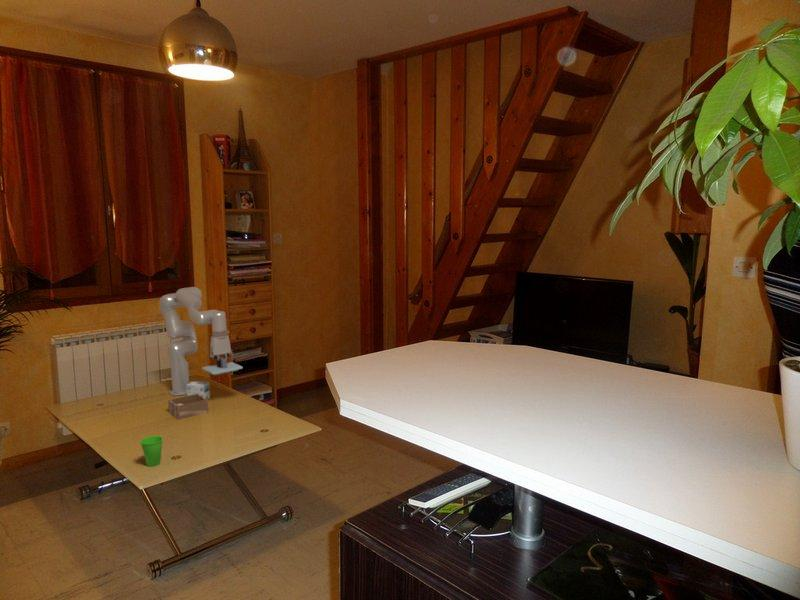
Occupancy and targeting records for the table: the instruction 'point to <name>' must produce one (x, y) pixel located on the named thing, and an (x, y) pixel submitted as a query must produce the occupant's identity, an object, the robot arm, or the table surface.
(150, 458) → the cup
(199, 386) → the light bulb box
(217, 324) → the robot arm
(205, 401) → the crate
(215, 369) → the lid
